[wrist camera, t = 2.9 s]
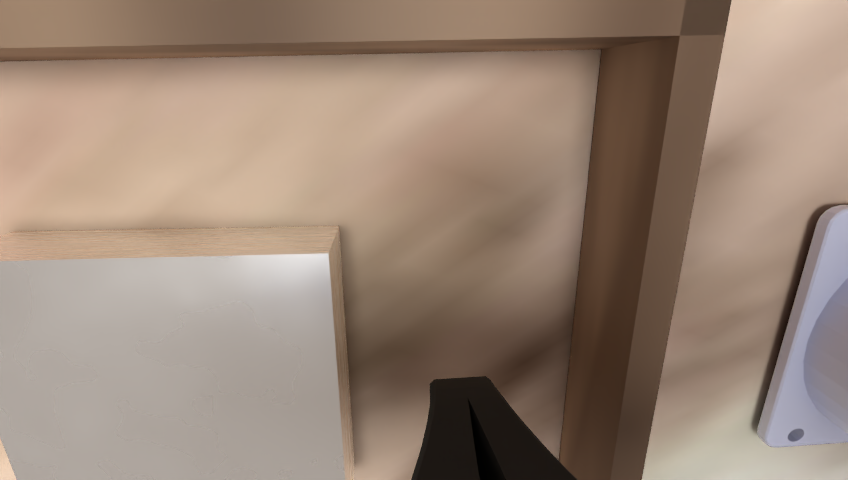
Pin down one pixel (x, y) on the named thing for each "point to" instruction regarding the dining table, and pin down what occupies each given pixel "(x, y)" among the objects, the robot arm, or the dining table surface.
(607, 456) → the brown u-shaped frame
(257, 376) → the cover plate
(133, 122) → the dining table surface
